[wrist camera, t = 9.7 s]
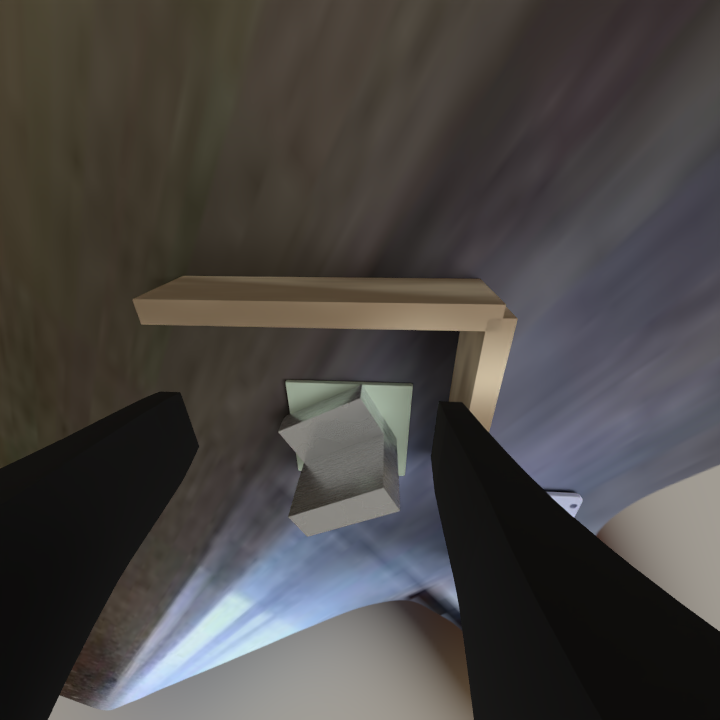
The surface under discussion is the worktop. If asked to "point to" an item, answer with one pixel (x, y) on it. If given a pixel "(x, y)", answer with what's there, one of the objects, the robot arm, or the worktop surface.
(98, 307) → the worktop surface
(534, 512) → the robot arm
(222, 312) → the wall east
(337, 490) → the bracket
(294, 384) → the pad
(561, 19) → the worktop surface
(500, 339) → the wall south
